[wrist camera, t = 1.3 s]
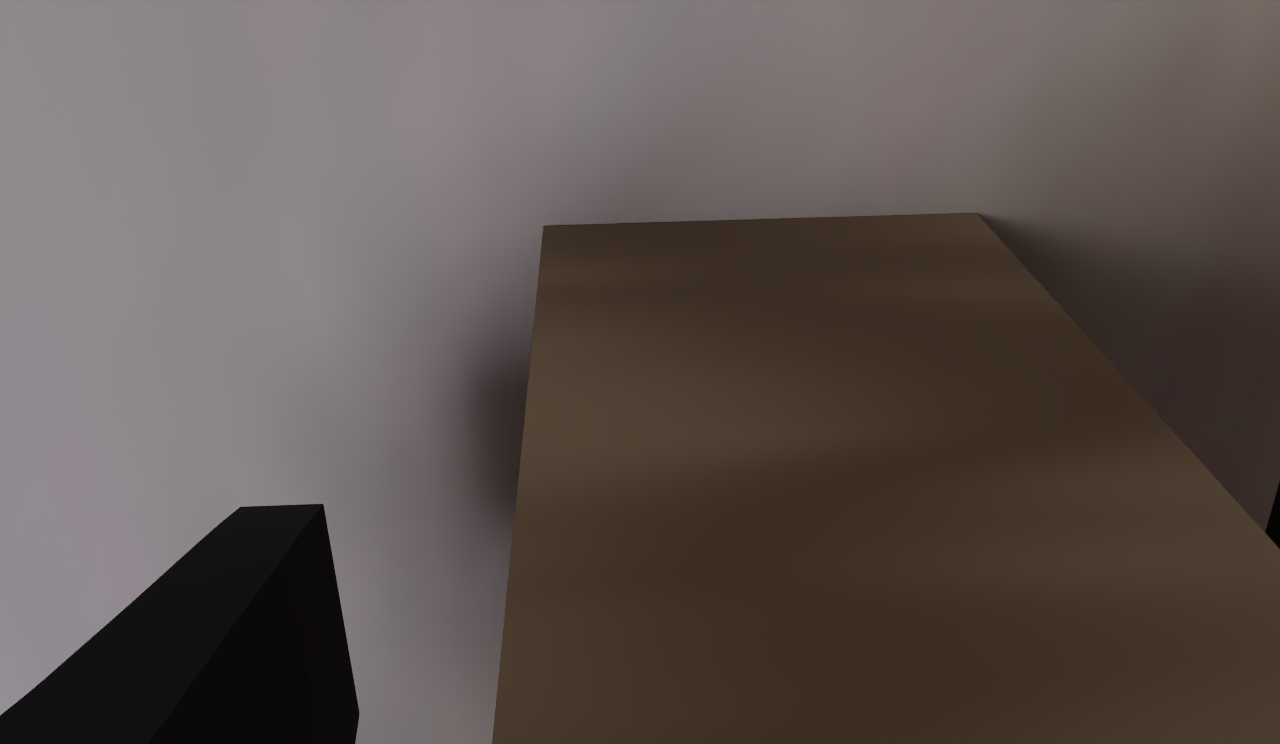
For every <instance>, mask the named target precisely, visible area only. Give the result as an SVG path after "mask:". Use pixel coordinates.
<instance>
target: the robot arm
mask: <svg viewBox="0 0 1280 744" xmlns="http://www.w3.org/2000/svg"><path fill="white" fill-rule="evenodd" d="M1265 533H1266V534H1267V536H1268V537H1269V538H1270V539H1271V540H1272V541H1273V542H1274V543H1275V544H1276V545H1277V547H1278V548H1279V549H1280V483H1279V486H1278V490H1277V493H1276V497H1275V500H1274V504H1273V507H1272V511H1271V514H1270V518H1269V521H1268V525H1267V528H1266V532H1265ZM358 720H359V708H358V702H357V696H356V691H355V685H354V679H353V673H352V667H351V662H350V656H349V650H348V644H347V639H346V633H345V627H344V621H343V615H342V610H341V604H340V598H339V592H338V586H337V581H336V575H335V569H334V563H333V557H332V552H331V546H330V540H329V534H328V529H327V523H326V517H325V511H324V505H323V504H308V505H280V506H253V507H240V508H239V509H237V510H236V511H235V512H234V513H232V514H231V515H230V516H229V517H227V518H226V519H225V520H224V521H223V522H221V523H220V524H219V525H218V526H217V527H216V528H214V529H213V530H212V531H211V532H210V533H209V534H208V535H206V536H205V537H204V538H203V539H202V540H201V541H200V542H199V543H197V544H196V545H195V546H194V547H193V548H192V549H191V550H190V551H188V552H187V553H186V554H185V555H184V556H183V557H182V558H181V559H180V560H178V561H177V562H176V563H175V564H174V565H173V566H172V567H171V568H170V569H169V570H167V571H166V572H165V573H164V574H163V575H162V576H161V577H160V578H159V579H157V580H156V581H155V582H154V583H153V584H152V585H151V586H150V587H149V588H147V589H146V590H145V591H144V592H143V593H142V594H141V595H140V596H139V597H137V598H136V599H135V600H134V601H133V602H132V603H131V604H130V605H129V606H127V607H126V608H125V609H124V610H123V611H122V612H121V613H119V614H118V615H117V616H116V617H115V618H114V619H113V620H112V621H110V622H109V623H108V624H107V625H106V626H105V627H104V628H102V629H101V630H100V631H99V632H98V633H97V634H96V635H94V636H93V637H92V638H91V639H90V640H89V641H88V642H86V643H85V644H84V645H83V646H82V647H81V648H80V649H78V650H77V651H76V652H75V653H74V654H73V655H72V656H70V657H69V658H68V659H67V660H66V661H65V662H64V663H62V664H61V665H60V666H59V667H58V668H57V669H56V670H54V671H53V672H52V673H51V674H50V675H49V676H48V677H46V678H45V679H44V680H43V681H42V682H41V683H40V684H38V685H37V686H36V687H35V688H34V689H32V690H31V691H30V692H29V693H28V694H26V695H25V696H24V697H23V698H22V699H20V700H19V701H18V702H17V703H15V704H14V705H13V706H12V707H10V708H9V709H8V710H7V711H5V712H4V713H3V714H2V715H0V744H355V740H356V734H357V727H358Z"/></svg>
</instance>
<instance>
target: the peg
mask: <svg viewBox="0 0 1280 744" xmlns="http://www.w3.org/2000/svg"><path fill="white" fill-rule="evenodd" d="M492 744H1280V549H1279V548H1278V547H1277V545H1276V544H1275V543H1274V542H1273V541H1272V540H1271V539H1270V538H1269V537H1268V536H1267V534H1266V533H1265V532H1264V531H1263V530H1262V529H1261V528H1260V527H1259V526H1258V524H1257V523H1256V522H1255V521H1254V520H1253V519H1252V518H1251V517H1250V516H1249V514H1248V513H1247V512H1246V511H1245V510H1244V509H1243V508H1242V507H1241V506H1240V504H1239V503H1238V502H1237V501H1236V500H1235V499H1234V498H1233V497H1232V496H1231V495H1230V493H1229V492H1228V491H1227V490H1226V489H1225V488H1224V487H1223V486H1222V485H1221V483H1220V482H1219V481H1218V480H1217V479H1216V478H1215V477H1214V476H1213V475H1212V473H1211V472H1210V471H1209V470H1208V469H1207V468H1206V467H1205V466H1204V465H1203V463H1202V462H1201V461H1200V460H1199V459H1198V458H1197V457H1196V456H1195V455H1194V454H1193V452H1192V451H1191V450H1190V449H1189V448H1188V447H1187V446H1186V445H1185V444H1184V442H1183V441H1182V440H1181V439H1180V438H1179V437H1178V436H1177V435H1176V434H1175V432H1174V431H1173V430H1172V429H1171V428H1170V427H1169V426H1168V425H1167V424H1166V422H1165V421H1164V420H1163V419H1162V418H1161V417H1160V416H1159V415H1158V414H1157V413H1156V411H1155V410H1154V409H1153V408H1152V407H1151V406H1150V405H1149V404H1148V403H1147V401H1146V400H1145V399H1144V398H1143V397H1142V396H1141V395H1140V394H1139V393H1138V391H1137V390H1136V389H1135V388H1134V387H1133V386H1132V385H1131V384H1130V383H1129V381H1128V380H1127V379H1126V378H1125V377H1124V376H1123V375H1122V374H1121V373H1120V372H1119V370H1118V369H1117V368H1116V367H1115V366H1114V365H1113V364H1112V363H1111V362H1110V360H1109V359H1108V358H1107V357H1106V356H1105V355H1104V354H1103V353H1102V352H1101V350H1100V349H1099V348H1098V347H1097V346H1096V345H1095V344H1094V343H1093V342H1092V340H1091V339H1090V338H1089V337H1088V336H1087V335H1086V334H1085V333H1084V332H1083V331H1082V329H1081V328H1080V327H1079V326H1078V325H1077V324H1076V323H1075V322H1074V321H1073V319H1072V318H1071V317H1070V316H1069V315H1068V314H1067V313H1066V312H1065V311H1064V309H1063V308H1062V307H1061V306H1060V305H1059V304H1058V303H1057V302H1056V301H1055V299H1054V298H1053V297H1052V296H1051V295H1050V294H1049V293H1048V292H1047V291H1046V290H1045V288H1044V287H1043V286H1042V285H1041V284H1040V283H1039V282H1038V281H1037V280H1036V278H1035V277H1034V276H1033V275H1032V274H1031V273H1030V272H1029V271H1028V270H1027V268H1026V267H1025V266H1024V265H1023V264H1022V263H1021V262H1020V261H1019V260H1018V258H1017V257H1016V256H1015V255H1014V254H1013V253H1012V252H1011V251H1010V250H1009V249H1008V247H1007V246H1006V245H1005V244H1004V243H1003V242H1002V241H1001V240H1000V239H999V237H998V236H997V235H996V234H995V233H994V232H993V231H992V230H991V229H990V227H989V226H988V225H987V224H986V223H985V222H984V221H983V220H982V219H981V217H980V216H979V215H978V214H977V213H961V214H928V215H894V216H861V217H827V218H794V219H760V220H727V221H694V222H660V223H627V224H593V225H560V226H544V227H543V237H542V247H541V257H540V268H539V278H538V288H537V298H536V308H535V318H534V328H533V338H532V348H531V358H530V368H529V378H528V388H527V398H526V408H525V418H524V429H523V439H522V449H521V459H520V469H519V479H518V489H517V499H516V509H515V519H514V529H513V539H512V549H511V559H510V569H509V579H508V590H507V600H506V610H505V620H504V630H503V640H502V650H501V660H500V670H499V680H498V690H497V700H496V710H495V720H494V730H493V740H492Z"/></svg>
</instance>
